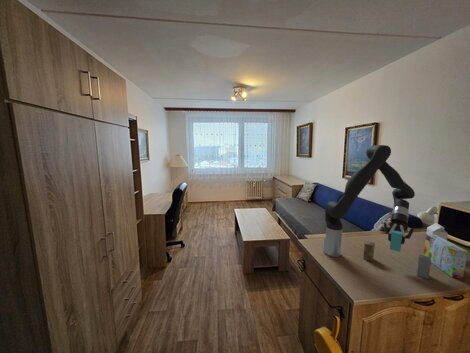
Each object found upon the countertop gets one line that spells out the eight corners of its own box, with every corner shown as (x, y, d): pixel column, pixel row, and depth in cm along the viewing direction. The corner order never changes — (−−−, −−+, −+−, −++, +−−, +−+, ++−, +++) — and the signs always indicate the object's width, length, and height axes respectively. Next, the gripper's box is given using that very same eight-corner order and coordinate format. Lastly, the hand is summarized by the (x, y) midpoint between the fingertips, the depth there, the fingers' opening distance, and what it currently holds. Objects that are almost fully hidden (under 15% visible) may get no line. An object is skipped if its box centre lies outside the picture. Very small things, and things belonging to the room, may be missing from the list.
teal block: (389, 249, 111) (391, 232, 110) (390, 246, 114) (392, 229, 113) (400, 252, 108) (402, 234, 107) (400, 249, 111) (402, 231, 110)
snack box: (464, 279, 102) (469, 251, 100) (451, 277, 103) (455, 250, 101) (432, 257, 122) (435, 234, 120) (422, 256, 123) (425, 233, 121)
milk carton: (429, 253, 126) (433, 225, 124) (424, 248, 133) (427, 221, 131) (444, 256, 124) (448, 226, 121) (438, 250, 130) (442, 222, 128)
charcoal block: (416, 275, 104) (418, 257, 103) (416, 271, 108) (418, 254, 106) (428, 279, 101) (431, 260, 100) (428, 275, 105) (430, 257, 103)
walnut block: (363, 258, 120) (364, 243, 119) (364, 256, 124) (366, 240, 122) (372, 261, 117) (373, 245, 116) (373, 258, 121) (374, 243, 119)
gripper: (384, 210, 119) (379, 235, 112) (416, 215, 109) (413, 243, 102) (384, 216, 124) (380, 241, 116) (415, 222, 114) (412, 249, 107)
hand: (395, 242), depth 109 cm, fingers closed on teal block, 4 cm apart
